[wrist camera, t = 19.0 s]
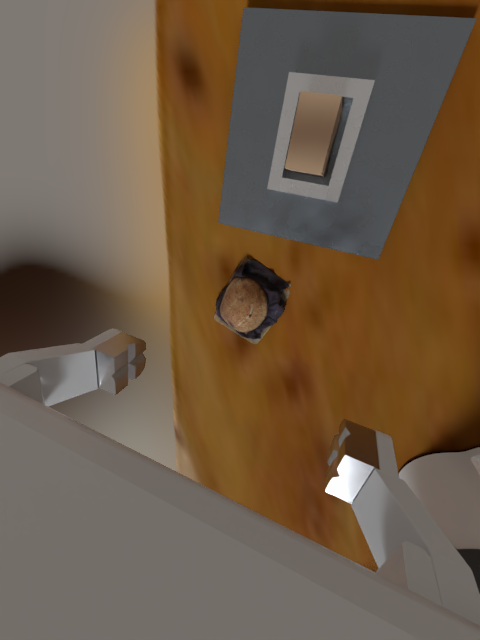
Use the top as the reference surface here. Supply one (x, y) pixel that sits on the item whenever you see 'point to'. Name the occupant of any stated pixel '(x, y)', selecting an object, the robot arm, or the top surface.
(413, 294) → the top surface
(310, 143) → the walnut peg
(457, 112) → the top surface
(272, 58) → the metal duct collar
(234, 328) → the bread roll
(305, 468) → the top surface
